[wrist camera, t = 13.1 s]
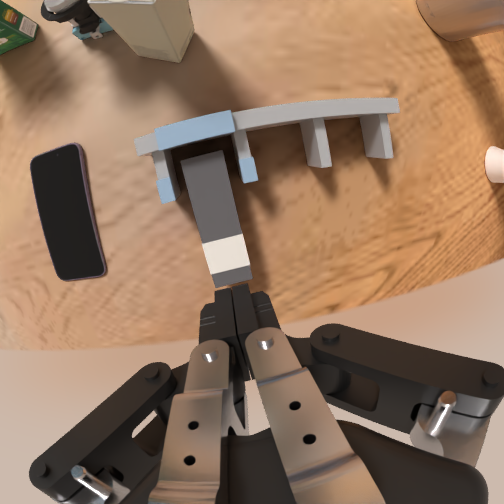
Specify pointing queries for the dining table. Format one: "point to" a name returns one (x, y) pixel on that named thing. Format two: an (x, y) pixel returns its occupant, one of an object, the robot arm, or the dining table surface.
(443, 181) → the dining table surface
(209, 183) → the gray rectangular block
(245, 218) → the dining table surface
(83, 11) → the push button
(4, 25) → the coffee box
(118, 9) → the box
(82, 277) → the smartphone
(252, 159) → the grey pronged rack
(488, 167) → the cosmetic bottle
